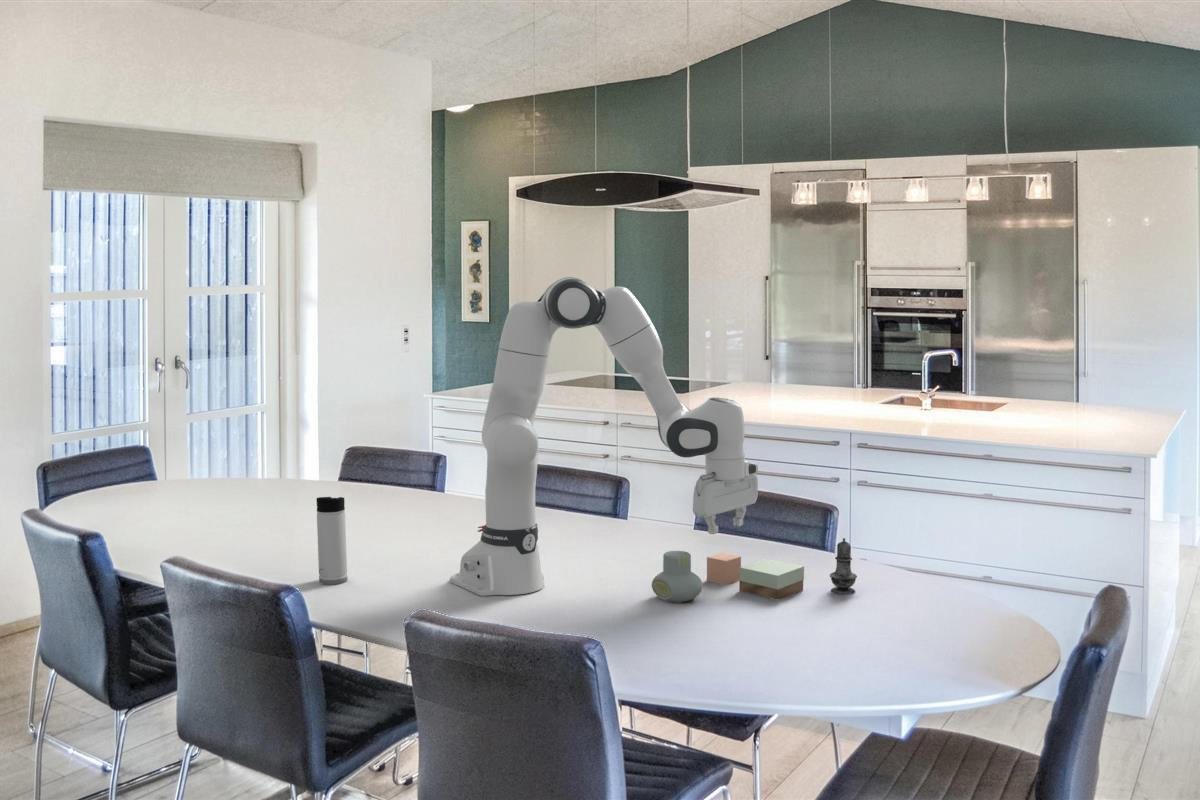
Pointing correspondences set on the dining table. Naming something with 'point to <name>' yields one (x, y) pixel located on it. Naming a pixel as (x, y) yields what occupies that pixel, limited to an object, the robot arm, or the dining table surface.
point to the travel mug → (331, 540)
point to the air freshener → (677, 578)
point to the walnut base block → (770, 590)
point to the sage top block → (772, 573)
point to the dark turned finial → (843, 570)
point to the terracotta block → (723, 568)
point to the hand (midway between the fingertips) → (725, 529)
